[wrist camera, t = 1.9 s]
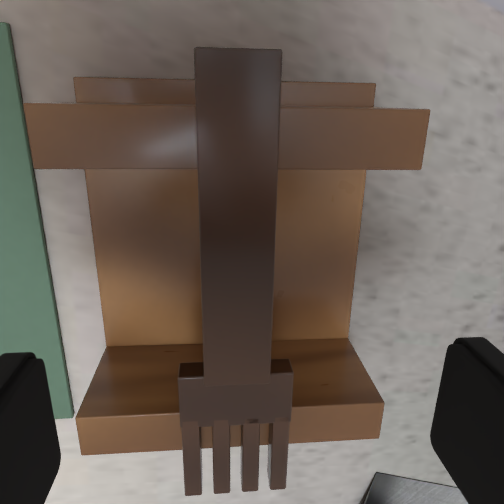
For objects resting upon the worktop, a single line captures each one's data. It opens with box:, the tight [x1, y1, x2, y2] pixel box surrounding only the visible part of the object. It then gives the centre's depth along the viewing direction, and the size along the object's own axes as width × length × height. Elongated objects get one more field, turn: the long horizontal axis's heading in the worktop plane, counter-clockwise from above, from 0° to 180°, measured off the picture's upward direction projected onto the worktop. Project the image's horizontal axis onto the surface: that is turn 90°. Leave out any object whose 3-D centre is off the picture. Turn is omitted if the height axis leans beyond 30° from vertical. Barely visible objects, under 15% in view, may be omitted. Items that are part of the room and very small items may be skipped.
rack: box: [23, 77, 430, 455], centre depth 18 cm, size 16×13×6 cm
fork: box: [177, 47, 294, 496], centre depth 15 cm, size 17×4×2 cm, turn 179°
